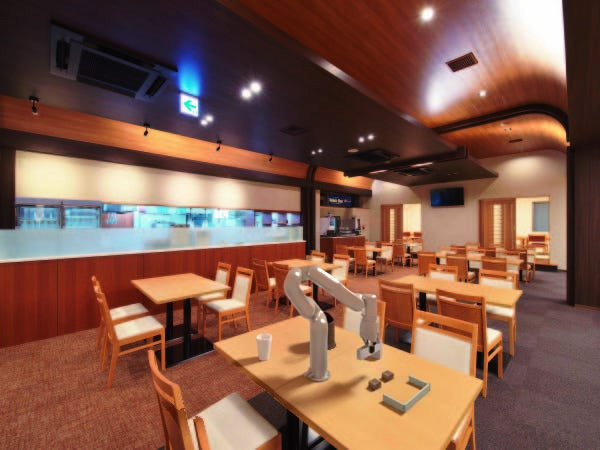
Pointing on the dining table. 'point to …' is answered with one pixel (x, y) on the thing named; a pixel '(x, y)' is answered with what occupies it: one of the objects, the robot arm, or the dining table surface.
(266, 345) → the foam cup
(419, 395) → the grey u-shaped bracket
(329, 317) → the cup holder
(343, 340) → the dining table surface
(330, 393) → the dining table surface
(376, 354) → the pale brown block
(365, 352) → the long grey plank
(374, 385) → the crust left
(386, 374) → the small brown block
